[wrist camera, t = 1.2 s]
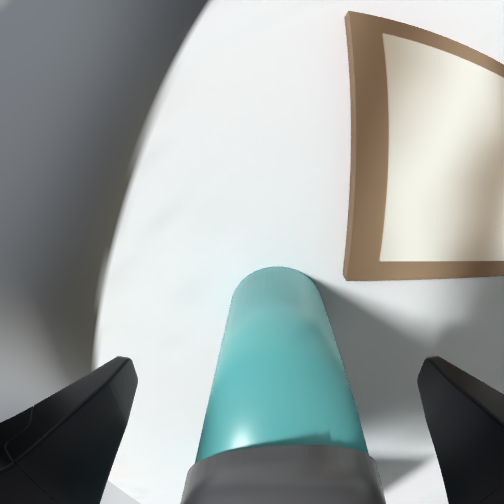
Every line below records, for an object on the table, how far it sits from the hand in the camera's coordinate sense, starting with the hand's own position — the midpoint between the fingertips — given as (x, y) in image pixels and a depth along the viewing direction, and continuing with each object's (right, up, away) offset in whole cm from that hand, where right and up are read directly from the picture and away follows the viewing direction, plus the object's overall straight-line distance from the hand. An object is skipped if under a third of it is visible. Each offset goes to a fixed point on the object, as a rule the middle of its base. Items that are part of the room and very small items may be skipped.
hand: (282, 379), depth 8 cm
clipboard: (+10, +7, +1) cm, 13 cm away
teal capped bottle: (0, +1, +4) cm, 4 cm away
